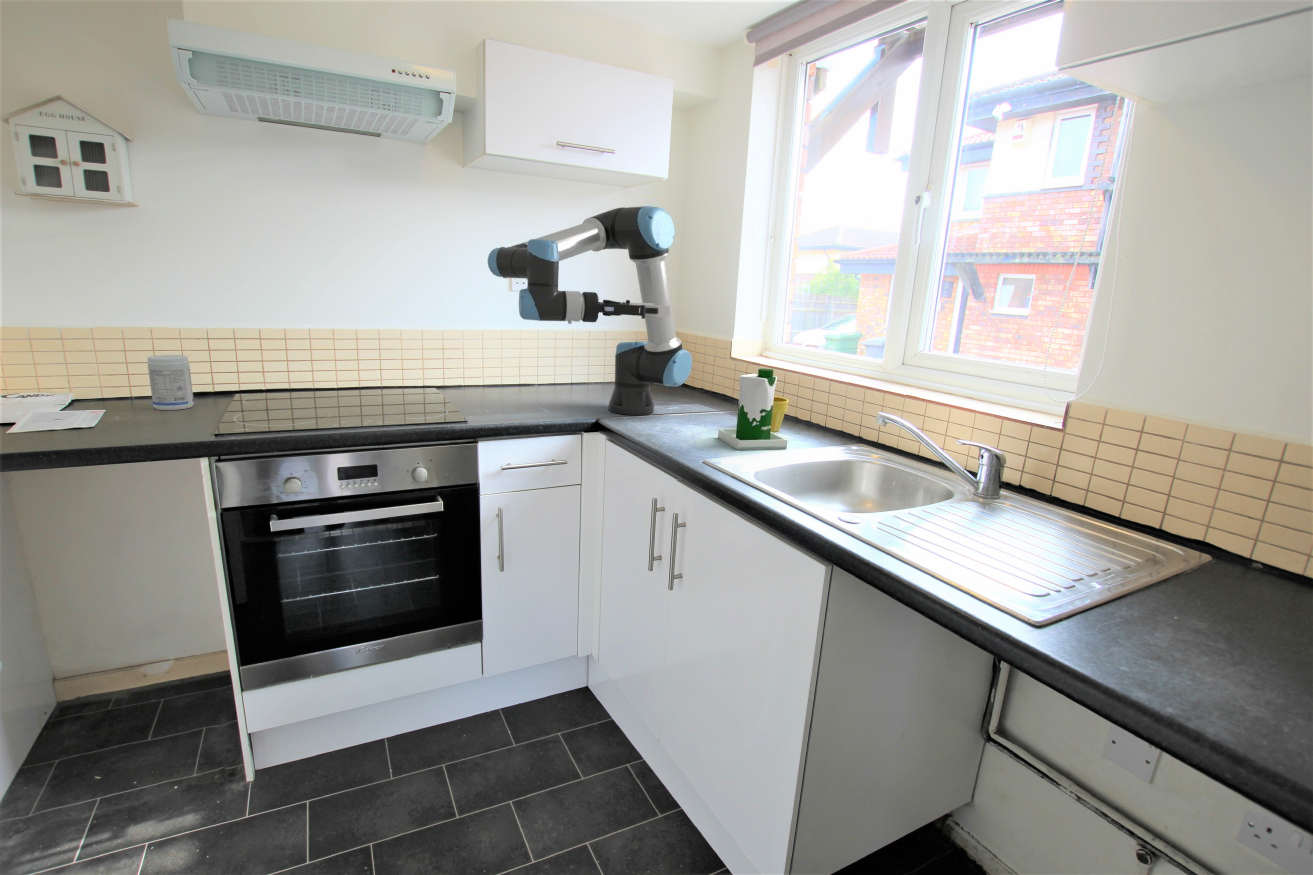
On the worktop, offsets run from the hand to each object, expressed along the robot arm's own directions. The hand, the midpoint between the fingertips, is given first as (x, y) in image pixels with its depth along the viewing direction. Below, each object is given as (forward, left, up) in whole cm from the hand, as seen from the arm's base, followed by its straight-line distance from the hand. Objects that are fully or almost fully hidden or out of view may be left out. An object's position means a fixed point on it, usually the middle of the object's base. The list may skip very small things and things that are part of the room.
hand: (661, 310), depth 171 cm
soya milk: (+2, +27, -34) cm, 44 cm away
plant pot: (-15, +37, -35) cm, 53 cm away
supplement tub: (-26, -136, -35) cm, 143 cm away
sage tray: (+2, +27, -35) cm, 44 cm away
